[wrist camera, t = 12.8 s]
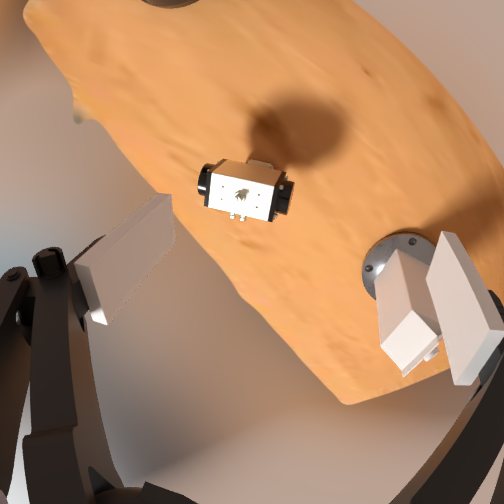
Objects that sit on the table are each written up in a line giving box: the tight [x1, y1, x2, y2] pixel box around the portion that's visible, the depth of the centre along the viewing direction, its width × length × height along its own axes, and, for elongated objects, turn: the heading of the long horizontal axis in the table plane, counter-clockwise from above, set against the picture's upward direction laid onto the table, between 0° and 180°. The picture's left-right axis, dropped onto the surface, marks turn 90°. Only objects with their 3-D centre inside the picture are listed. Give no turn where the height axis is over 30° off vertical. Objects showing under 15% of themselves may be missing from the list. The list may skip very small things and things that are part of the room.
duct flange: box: [362, 232, 436, 300], centre depth 49 cm, size 14×14×1 cm
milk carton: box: [374, 249, 443, 377], centre depth 41 cm, size 7×7×19 cm
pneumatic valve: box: [198, 159, 295, 222], centre depth 43 cm, size 6×12×12 cm, turn 81°
